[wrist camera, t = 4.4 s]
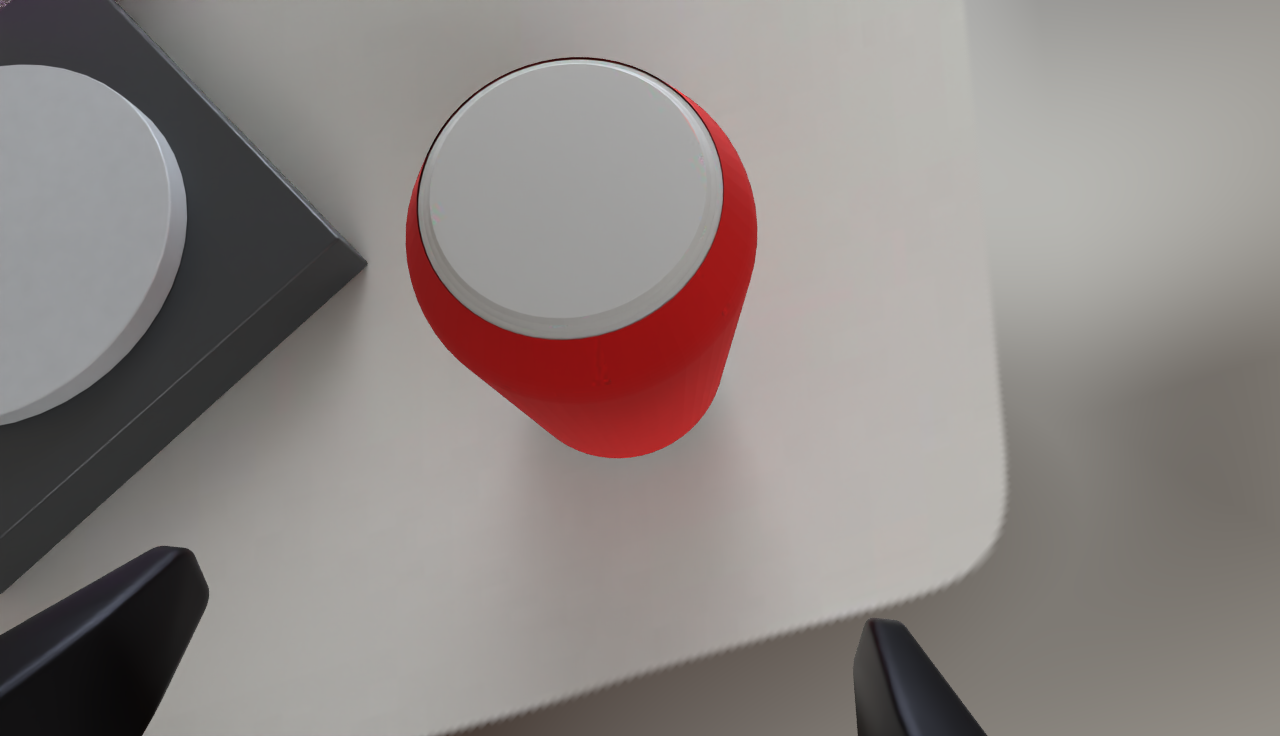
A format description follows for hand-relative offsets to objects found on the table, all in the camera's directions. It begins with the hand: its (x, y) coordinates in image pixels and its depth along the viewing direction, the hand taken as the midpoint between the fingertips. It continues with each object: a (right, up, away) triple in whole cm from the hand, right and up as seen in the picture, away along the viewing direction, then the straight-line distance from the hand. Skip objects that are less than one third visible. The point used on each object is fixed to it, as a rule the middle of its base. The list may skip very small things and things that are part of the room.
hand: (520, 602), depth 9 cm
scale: (-18, +6, +15) cm, 24 cm away
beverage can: (+1, +3, +13) cm, 14 cm away
